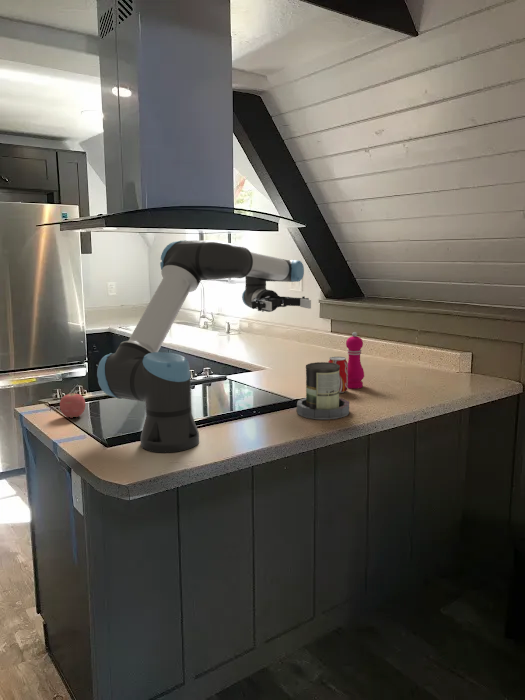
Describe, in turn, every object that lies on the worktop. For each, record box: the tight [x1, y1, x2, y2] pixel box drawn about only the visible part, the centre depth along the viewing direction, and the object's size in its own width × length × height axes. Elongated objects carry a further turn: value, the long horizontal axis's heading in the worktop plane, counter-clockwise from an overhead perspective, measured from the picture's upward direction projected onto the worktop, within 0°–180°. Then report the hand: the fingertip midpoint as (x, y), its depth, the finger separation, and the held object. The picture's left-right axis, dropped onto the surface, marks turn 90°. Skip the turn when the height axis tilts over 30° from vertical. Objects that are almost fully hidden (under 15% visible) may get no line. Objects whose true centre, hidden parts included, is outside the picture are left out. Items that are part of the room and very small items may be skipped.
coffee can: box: [305, 361, 340, 409], centre depth 176 cm, size 10×10×14 cm
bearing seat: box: [296, 397, 350, 421], centre depth 177 cm, size 16×16×3 cm
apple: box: [59, 392, 86, 419], centre depth 175 cm, size 7×7×8 cm
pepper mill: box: [345, 331, 365, 390], centre depth 207 cm, size 7×7×20 cm
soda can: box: [327, 356, 348, 394], centre depth 201 cm, size 7×7×12 cm
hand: (290, 305), depth 182 cm, fingers open, 13 cm apart
